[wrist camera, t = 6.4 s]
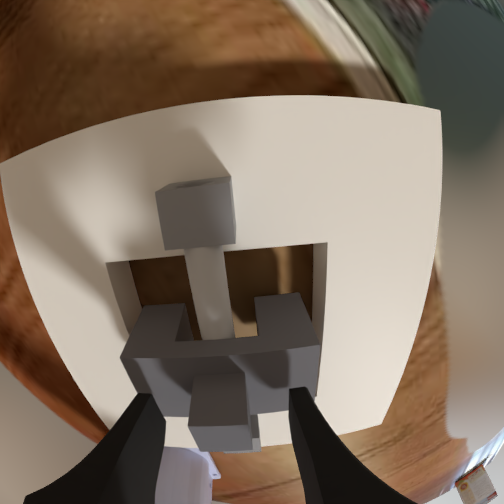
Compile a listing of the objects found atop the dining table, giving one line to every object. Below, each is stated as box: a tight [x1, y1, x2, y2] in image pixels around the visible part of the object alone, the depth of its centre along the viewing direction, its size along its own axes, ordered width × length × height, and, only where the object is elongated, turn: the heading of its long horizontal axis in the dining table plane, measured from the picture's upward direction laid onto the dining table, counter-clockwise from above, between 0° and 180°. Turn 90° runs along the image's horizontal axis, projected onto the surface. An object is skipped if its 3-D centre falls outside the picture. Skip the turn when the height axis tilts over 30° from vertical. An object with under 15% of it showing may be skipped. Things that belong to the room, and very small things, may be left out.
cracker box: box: [455, 464, 498, 504], centre depth 45 cm, size 14×6×21 cm, turn 132°
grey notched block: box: [120, 292, 320, 452], centre depth 11 cm, size 4×8×6 cm, turn 94°
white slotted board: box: [0, 95, 442, 453], centre depth 13 cm, size 22×22×4 cm
